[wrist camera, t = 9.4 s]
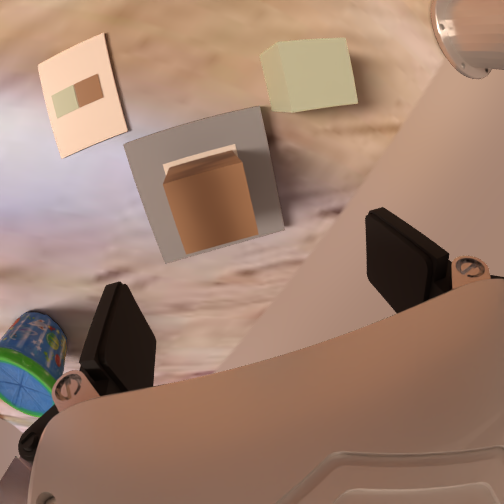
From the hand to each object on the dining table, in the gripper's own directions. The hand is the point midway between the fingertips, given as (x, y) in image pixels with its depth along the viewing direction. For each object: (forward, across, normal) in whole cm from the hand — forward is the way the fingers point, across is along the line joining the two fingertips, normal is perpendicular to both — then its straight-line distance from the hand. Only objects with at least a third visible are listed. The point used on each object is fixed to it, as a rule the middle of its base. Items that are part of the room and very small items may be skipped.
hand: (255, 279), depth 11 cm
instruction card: (+18, +10, -11) cm, 24 cm away
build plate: (+18, +1, +1) cm, 18 cm away
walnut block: (+17, +1, +1) cm, 17 cm away
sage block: (+18, -9, -7) cm, 21 cm away
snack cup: (+18, +27, +12) cm, 35 cm away
